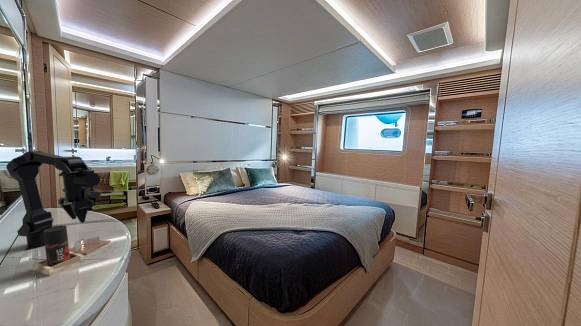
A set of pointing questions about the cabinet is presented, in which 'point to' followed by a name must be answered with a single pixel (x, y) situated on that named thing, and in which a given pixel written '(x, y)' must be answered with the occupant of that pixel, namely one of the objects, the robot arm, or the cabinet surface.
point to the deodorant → (56, 245)
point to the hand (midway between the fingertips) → (78, 220)
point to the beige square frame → (47, 270)
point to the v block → (88, 245)
